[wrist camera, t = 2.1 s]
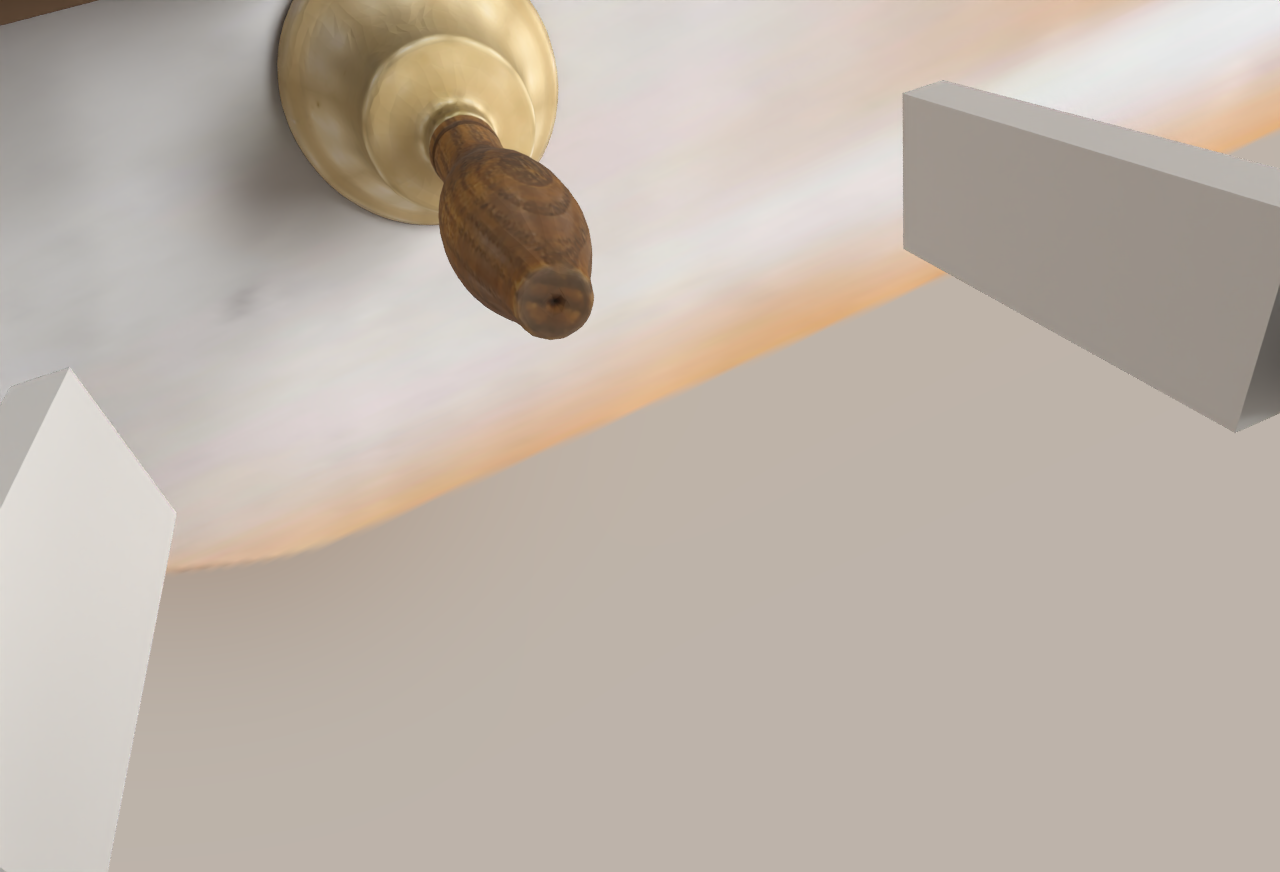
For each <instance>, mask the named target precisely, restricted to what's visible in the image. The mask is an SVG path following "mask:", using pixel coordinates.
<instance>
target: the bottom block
mask: <svg viewBox="0 0 1280 872" xmlns="http://www.w3.org/2000/svg"><path fill="white" fill-rule="evenodd" d="M93 1H97V0H0V26H1V25H4V24H8V23H12V22H16V21H20V20H24V19H28V18H32V17H35V16H39V15H43V14H47V13H51V12H55V11H59V10H62V9H66V8H70V7H74V6H78V5H82V4H86V3H90V2H93Z"/></svg>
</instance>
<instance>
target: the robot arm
mask: <svg viewBox="0 0 1280 872" xmlns="http://www.w3.org/2000/svg"><path fill="white" fill-rule="evenodd" d="M903 245H904V249H905V250H907V251H909V252H910V253H912V254H914V255H916V256H918V257H919V258H921V259H923V260H925V261H927V262H928V263H930V264H932V265H934V266H936V267H937V268H939V269H941V270H943V271H945V272H946V273H948V274H950V275H952V276H954V277H955V278H957V279H959V280H961V281H963V282H964V283H966V284H968V285H970V286H972V287H973V288H975V289H977V290H979V291H981V292H982V293H984V294H986V295H988V296H990V297H991V298H993V299H995V300H997V301H999V302H1000V303H1002V304H1004V305H1006V306H1008V307H1009V308H1011V309H1013V310H1015V311H1017V312H1018V313H1020V314H1022V315H1024V316H1026V317H1027V318H1029V319H1031V320H1033V321H1035V322H1036V323H1038V324H1040V325H1042V326H1044V327H1046V328H1047V329H1049V330H1051V331H1053V332H1055V333H1056V334H1058V335H1060V336H1062V337H1063V338H1065V339H1067V340H1069V341H1071V342H1072V343H1074V344H1076V345H1078V346H1080V347H1081V348H1083V349H1085V350H1087V351H1089V352H1090V353H1092V354H1094V355H1096V356H1098V357H1099V358H1101V359H1103V360H1105V361H1107V362H1108V363H1110V364H1112V365H1114V366H1116V367H1118V368H1119V369H1121V370H1123V371H1125V372H1126V373H1128V374H1130V375H1132V376H1134V377H1136V378H1137V379H1139V380H1141V381H1143V382H1144V383H1146V384H1148V385H1150V386H1152V387H1153V388H1155V389H1157V390H1159V391H1161V392H1163V393H1164V394H1166V395H1168V396H1170V397H1172V398H1173V399H1175V400H1177V401H1179V402H1180V403H1182V404H1184V405H1186V406H1188V407H1189V408H1191V409H1193V410H1195V411H1197V412H1198V413H1200V414H1202V415H1204V416H1206V417H1207V418H1209V419H1211V420H1213V421H1215V422H1217V423H1218V424H1220V425H1222V426H1224V427H1225V428H1227V429H1229V430H1231V431H1233V432H1234V433H1236V432H1238V431H1241V430H1243V429H1245V428H1247V427H1250V426H1252V425H1254V424H1257V423H1259V422H1261V421H1263V420H1266V419H1268V418H1270V417H1272V416H1275V415H1277V414H1279V413H1280V168H1276V167H1272V166H1268V165H1264V164H1261V163H1257V162H1253V161H1249V160H1245V159H1242V158H1238V157H1234V156H1230V155H1226V154H1223V153H1219V152H1215V151H1211V150H1207V149H1203V148H1200V147H1196V146H1192V145H1188V144H1184V143H1181V142H1177V141H1173V140H1169V139H1165V138H1162V137H1158V136H1154V135H1150V134H1146V133H1142V132H1139V131H1135V130H1131V129H1127V128H1123V127H1120V126H1116V125H1112V124H1108V123H1104V122H1101V121H1097V120H1093V119H1089V118H1085V117H1082V116H1078V115H1074V114H1070V113H1066V112H1062V111H1059V110H1055V109H1051V108H1047V107H1043V106H1040V105H1036V104H1032V103H1028V102H1024V101H1021V100H1017V99H1013V98H1009V97H1005V96H1001V95H998V94H994V93H990V92H986V91H982V90H979V89H975V88H971V87H967V86H963V85H960V84H956V83H952V82H948V81H944V80H942V81H939V82H936V83H933V84H930V85H927V86H924V87H921V88H918V89H915V90H912V91H908V92H905V93H903ZM176 516H177V513H176V512H175V510H174V509H173V508H172V506H171V505H170V503H169V502H168V501H167V499H166V498H165V497H164V495H163V494H162V492H161V491H160V490H159V488H158V487H157V486H156V484H155V483H154V482H153V480H152V479H151V477H150V476H149V475H148V473H147V472H146V471H145V469H144V468H143V467H142V465H141V464H140V462H139V461H138V460H137V458H136V457H135V456H134V454H133V453H132V451H131V450H130V449H129V447H128V446H127V445H126V443H125V442H124V441H123V439H122V438H121V436H120V435H119V434H118V432H117V431H116V430H115V428H114V427H113V426H112V424H111V423H110V421H109V420H108V419H107V417H106V416H105V415H104V413H103V412H102V411H101V409H100V408H99V406H98V405H97V404H96V402H95V401H94V400H93V398H92V397H91V395H90V394H89V393H88V391H87V390H86V389H85V387H84V386H83V385H82V383H81V382H80V380H79V379H78V378H77V376H76V375H75V374H74V372H73V371H72V370H71V368H70V367H68V368H65V369H62V370H59V371H56V372H53V373H50V374H47V375H44V376H41V377H38V378H35V379H32V380H29V381H26V382H23V383H19V384H16V385H13V386H11V387H10V389H9V391H8V392H7V394H6V396H5V397H4V399H3V401H2V402H1V404H0V872H108V868H109V863H110V858H111V853H112V847H113V842H114V837H115V832H116V827H117V822H118V817H119V811H120V806H121V801H122V796H123V790H124V785H125V780H126V775H127V769H128V764H129V759H130V754H131V749H132V744H133V739H134V734H135V728H136V723H137V718H138V713H139V707H140V702H141V697H142V692H143V687H144V682H145V676H146V671H147V666H148V661H149V656H150V650H151V645H152V640H153V635H154V630H155V624H156V619H157V614H158V609H159V604H160V599H161V593H162V588H163V583H164V578H165V573H166V567H167V562H168V557H169V552H170V547H171V542H172V536H173V531H174V526H175V521H176Z"/></svg>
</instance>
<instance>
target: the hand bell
mask: <svg viewBox="0 0 1280 872" xmlns="http://www.w3.org/2000/svg"><path fill="white" fill-rule="evenodd" d="M277 69H278V84H279V93H280V98H281V103H282V107H283V110H284V113H285V116H286V119H287V122H288V125H289V127H290V130H291V132H292V134H293V136H294V138H295V140H296V142H297V144H298V145H299V147H300V149H301V150H302V152H303V153H304V155H305V156H306V158H307V159H308V161H309V162H310V163H311V165H312V166H313V167H314V168H315V170H316V171H317V172H318V173H319V174H320V175H321V177H322V178H323V179H324V180H325V181H326V182H327V183H328V184H329V185H331V186H332V187H333V188H334V189H335V190H336V191H337V192H339V193H340V194H341V195H343V196H344V197H346V198H347V199H348V200H350V201H352V202H353V203H355V204H357V205H358V206H360V207H362V208H364V209H366V210H368V211H370V212H372V213H374V214H376V215H379V216H382V217H384V218H387V219H391V220H395V221H399V222H403V223H410V224H418V225H439V226H440V234H441V238H442V241H443V245H444V249H445V252H446V255H447V257H448V260H449V262H450V264H451V266H452V268H453V270H454V271H455V273H456V275H457V276H458V278H459V279H460V281H461V282H462V283H463V285H464V286H465V287H466V289H467V290H468V291H469V292H470V293H471V294H472V295H473V296H474V297H475V298H476V299H477V300H478V301H480V302H481V303H482V304H483V305H484V306H486V307H487V308H489V309H490V310H492V311H493V312H495V313H497V314H499V315H501V316H503V317H505V318H507V319H509V320H511V321H514V322H517V323H518V324H519V325H521V326H522V327H523V328H524V329H525V330H526V331H527V332H528V333H530V334H531V335H532V336H535V337H539V338H543V339H548V340H553V339H561V338H565V337H567V336H569V335H570V334H572V333H574V332H575V331H577V330H578V329H579V328H581V327H582V326H583V325H584V323H585V322H586V321H587V319H588V317H589V316H590V314H591V310H592V306H593V301H594V294H593V290H592V285H591V280H590V277H591V269H592V246H591V239H590V234H589V229H588V226H587V223H586V220H585V218H584V215H583V212H582V210H581V208H580V206H579V205H578V203H577V201H576V200H575V199H574V197H573V196H572V194H571V193H570V191H569V190H568V189H567V188H566V187H565V186H564V184H563V183H562V182H561V181H560V180H559V179H558V178H557V177H556V176H555V175H554V174H553V173H552V172H551V171H550V170H549V169H547V168H546V167H545V166H543V165H542V164H540V163H539V161H540V159H541V157H542V156H543V154H544V151H545V149H546V147H547V145H548V142H549V140H550V137H551V134H552V130H553V126H554V122H555V117H556V110H557V103H558V78H557V69H556V63H555V57H554V54H553V50H552V46H551V43H550V40H549V36H548V33H547V31H546V29H545V26H544V24H543V22H542V20H541V18H540V17H539V15H538V13H537V11H536V9H535V8H534V6H533V5H532V3H531V2H530V0H293V1H292V3H291V6H290V8H289V10H288V13H287V16H286V18H285V21H284V24H283V28H282V32H281V36H280V41H279V48H278V60H277Z"/></svg>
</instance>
